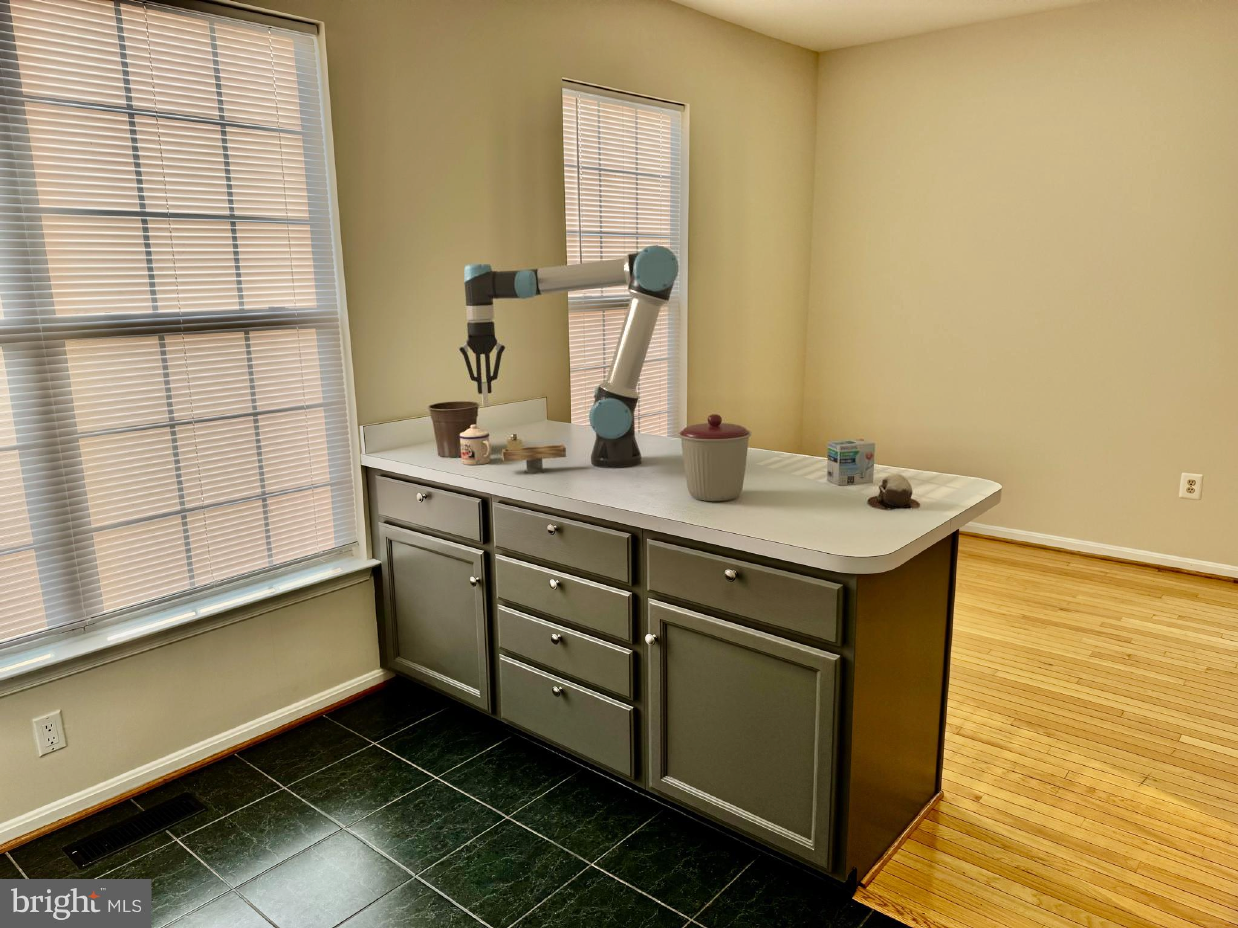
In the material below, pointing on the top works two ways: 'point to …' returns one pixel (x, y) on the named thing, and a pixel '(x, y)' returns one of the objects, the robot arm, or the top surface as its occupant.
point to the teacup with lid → (475, 446)
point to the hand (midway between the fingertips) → (485, 405)
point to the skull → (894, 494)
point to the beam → (534, 456)
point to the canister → (714, 459)
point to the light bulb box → (850, 462)
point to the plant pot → (452, 424)
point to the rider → (514, 443)
